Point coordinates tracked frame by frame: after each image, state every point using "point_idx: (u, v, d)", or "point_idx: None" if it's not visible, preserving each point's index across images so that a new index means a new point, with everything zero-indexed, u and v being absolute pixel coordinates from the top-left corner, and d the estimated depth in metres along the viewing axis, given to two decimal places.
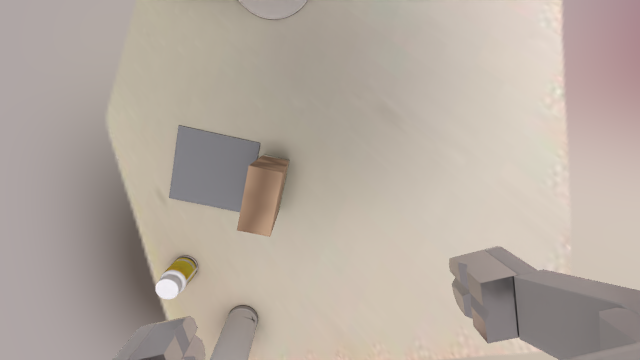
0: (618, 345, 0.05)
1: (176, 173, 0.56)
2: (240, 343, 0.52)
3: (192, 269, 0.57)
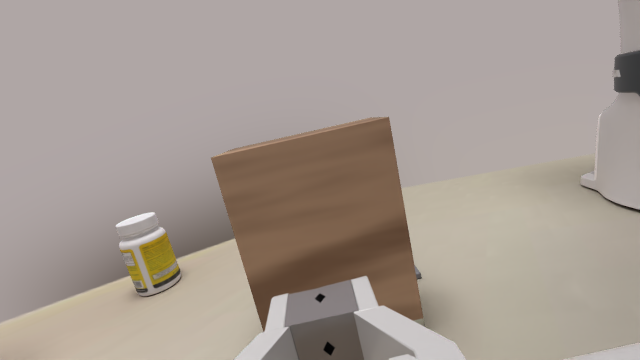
0: None
1: None
2: None
3: (153, 272, 0.32)
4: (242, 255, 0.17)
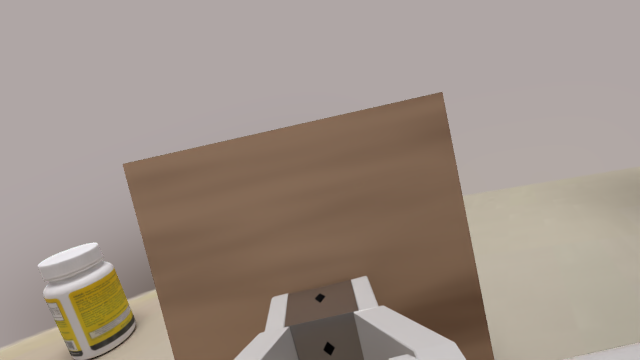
0: None
1: None
2: None
3: (91, 329, 0.23)
4: (174, 346, 0.09)
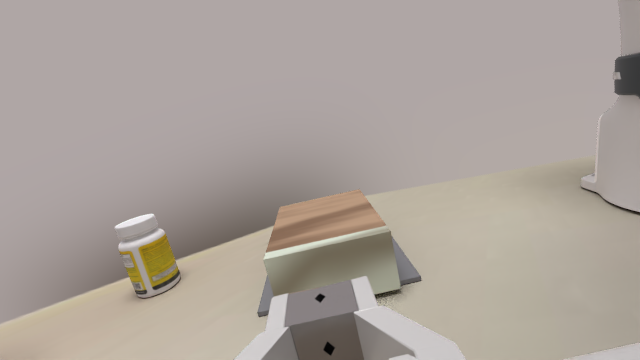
0: None
1: None
2: None
3: (153, 274, 0.32)
4: (275, 223, 0.31)
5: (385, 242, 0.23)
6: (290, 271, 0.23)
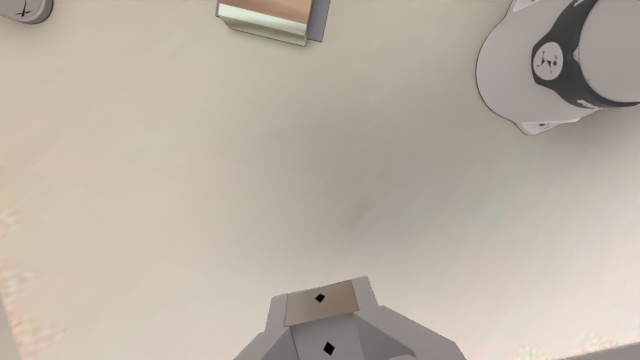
0: None
1: None
2: None
3: None
4: None
5: (299, 36, 0.35)
6: (236, 22, 0.35)
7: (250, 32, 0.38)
